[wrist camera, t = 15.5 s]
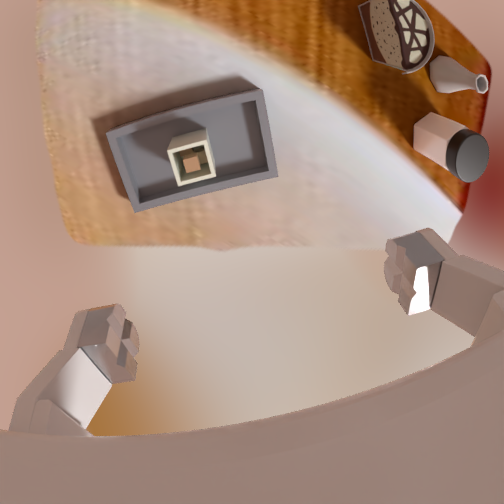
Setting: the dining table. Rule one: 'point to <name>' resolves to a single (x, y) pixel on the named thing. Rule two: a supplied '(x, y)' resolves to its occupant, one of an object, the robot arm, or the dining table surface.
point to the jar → (451, 146)
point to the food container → (398, 33)
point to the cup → (192, 157)
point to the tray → (221, 139)
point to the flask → (454, 76)
